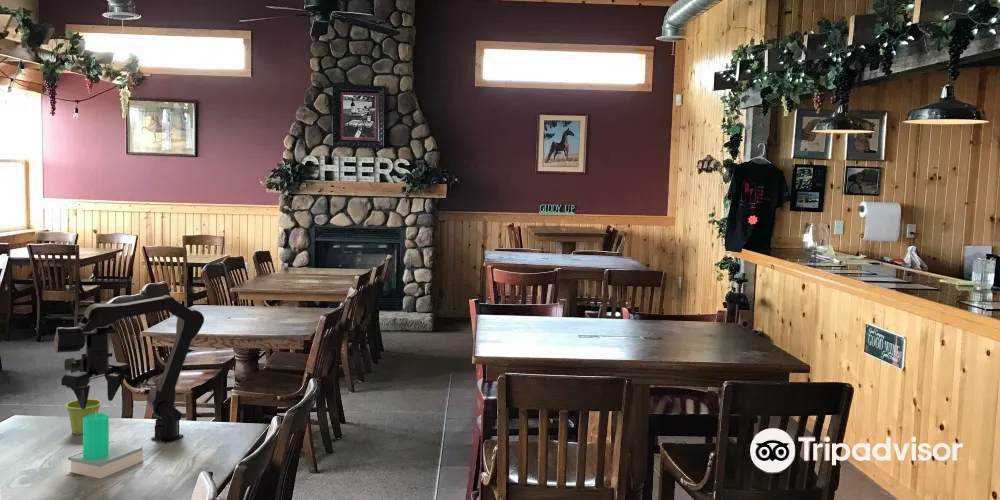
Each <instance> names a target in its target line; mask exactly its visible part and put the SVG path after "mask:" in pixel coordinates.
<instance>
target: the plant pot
mask: <svg viewBox="0 0 1000 500" xmlns="http://www.w3.org/2000/svg"><path fill="white" fill-rule="evenodd" d="M101 405H102V401H101V400H100V399H96V398H95V399H94V398H88V399H87V404H86V407H85V409H82V408H81V407H80V404H79V402H78V399H76V400H72V401H69V402H68V403H66V404H65V408H67V412H68V414H69V419H70V427H71V433H72V434H74V435H83V417H85V416H87V415H90V414H96V413H99V410H100V406H101Z"/></svg>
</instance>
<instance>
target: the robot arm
mask: <svg viewBox="0 0 1000 500" xmlns="http://www.w3.org/2000/svg"><path fill="white" fill-rule="evenodd" d="M163 311H167V312H168V313H170V314H172V315H173V316H174V317H176V318H177V319H176V324H175V325H176V326H175V327H176V329H175V331H176V332H175V339H174V342H173V345H172V348H171V350H170V352H169V355H168V359H167V361H166V364H165V368H164V370H163V373H162V375H161V378H160V381H159V383H158V384H157V385H156V386H152V385H151V386H150V387H149V393H148V395H147V396H146V398H145V400H147V403H146V406H147V407H148V409H149V410H150V411H151V412H152V413H153V414H154V415H155V416H156V417H157V418H156V419H155V425H154V436H152V437H151V438H150V440H152V441H156V442H161V443H171V442H174V441H176V440H179V439H181V438H183V437H184V434H181V433H180V420H181V419H182V415H183V413H182V412H181V411H180V410H178V409H177V408H176V407H175V403H176V385H177V383H178V380H179V378H180V375H181V372H182V369H183V366H184V364H185V360H186V357H187V355H188V352H189V349H190V347H191V344H192V341H193V340H194V338H195V337H196V336H197V335H198V334H199V332H200V331H201V329H202V326H204V323H205V317H204V315H203V313H202V312H200V311H199V310H197V309H195V308H192V307H187V306H185V305H184V304H182V303H180V302H179V301H178V300H176V299H175V298H174V297H173V296H170V295H168V294H165V295H162V296H158V297H157V296H156V297H153V298H152V297H151V298H146V299H141V300H135V301H130V302H124V303H107V302H106V303H93V304H92V303H91V304H89V305H88V306H87V308H85V310H84V316H82V318H81V319H80V321H79V322H78V323H77V324H76V326H73V327H71V326H70V327H60V326H59V327H56V331H55V336H54V340H53V345H54V351H55V354H59V353H71V352H80V351H81V350H82V349H83V348H84V347H85V352H84V353H82V354H81V358H80V359H75V358H74V357H70V358H66V359H64V370H65V371H66V372H68V371H70V373H65V374H63V375H62V377H61V386H65V387H66V388H70V389H71V390H72V391H73V393H74V394H75V397H76V400H78V402H79V404H80V407H81V408H82V409H85V407H86V404H87V399H89V394H90V389H91V385H89V383H90V380H95V379H98V378H101V377H102V378H103V377H104V378H105V380H106V382H107V383H106V384H107V400H108V401H109V402H111V401H113V400H114V397H115V396H116V394H117V392H118V391H119V388H120V387H121V385H122V384H123V382H124V380H125V378H128V375H131V366H130V364H129V363H125V362H118V361H116V362H112V363H110V358H111V357H113V352H110V334H118V330H117V329H115V328H114V327H113V325H112V324H114V323H115V324H116V322H118V321H120V320H121V321H122V320H124V319H126V318H131V317H136V316H141V315H147V314H153V313H160V312H163Z"/></svg>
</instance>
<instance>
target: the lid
mask: <svg viewBox="0 0 1000 500" xmlns="http://www.w3.org/2000/svg"><path fill="white" fill-rule="evenodd" d="M141 450H143V446H139V445H133V444H129V443H124V442H123V443H122V442H120V441H119V442H118V441H110V442H109V454H108V455H107V456H106V457H103V458H99V459H86V458H84V457H83V451H82V452H80V453H76V454H74V455H71V456H69V457H68V458H67V460H68V461H70V462H71V461H75V462H79V463H84V464H88V465H93V466H97V467H101V466H104V465H106V464H109V463H111V462H114V461H116V460H119V459H121V458H124V457H126V456H129V455H131V454H134V453H136V452H139V451H141Z"/></svg>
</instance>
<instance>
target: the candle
mask: <svg viewBox="0 0 1000 500" xmlns="http://www.w3.org/2000/svg"><path fill="white" fill-rule="evenodd" d="M109 419H110V418H109V415H108V414H106V413H104V412H98V413H96V414H90V415H87V416H85V417H83V433H82V452H83V457H84V458H86V459H99V458H103V457H106V456H107V455H108V454H109V441H110V440H109V438H110V436H109V435H110V433H109V432H110V431H109V430H110V427H109V426H110V425H109V424H110V423H109Z"/></svg>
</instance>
